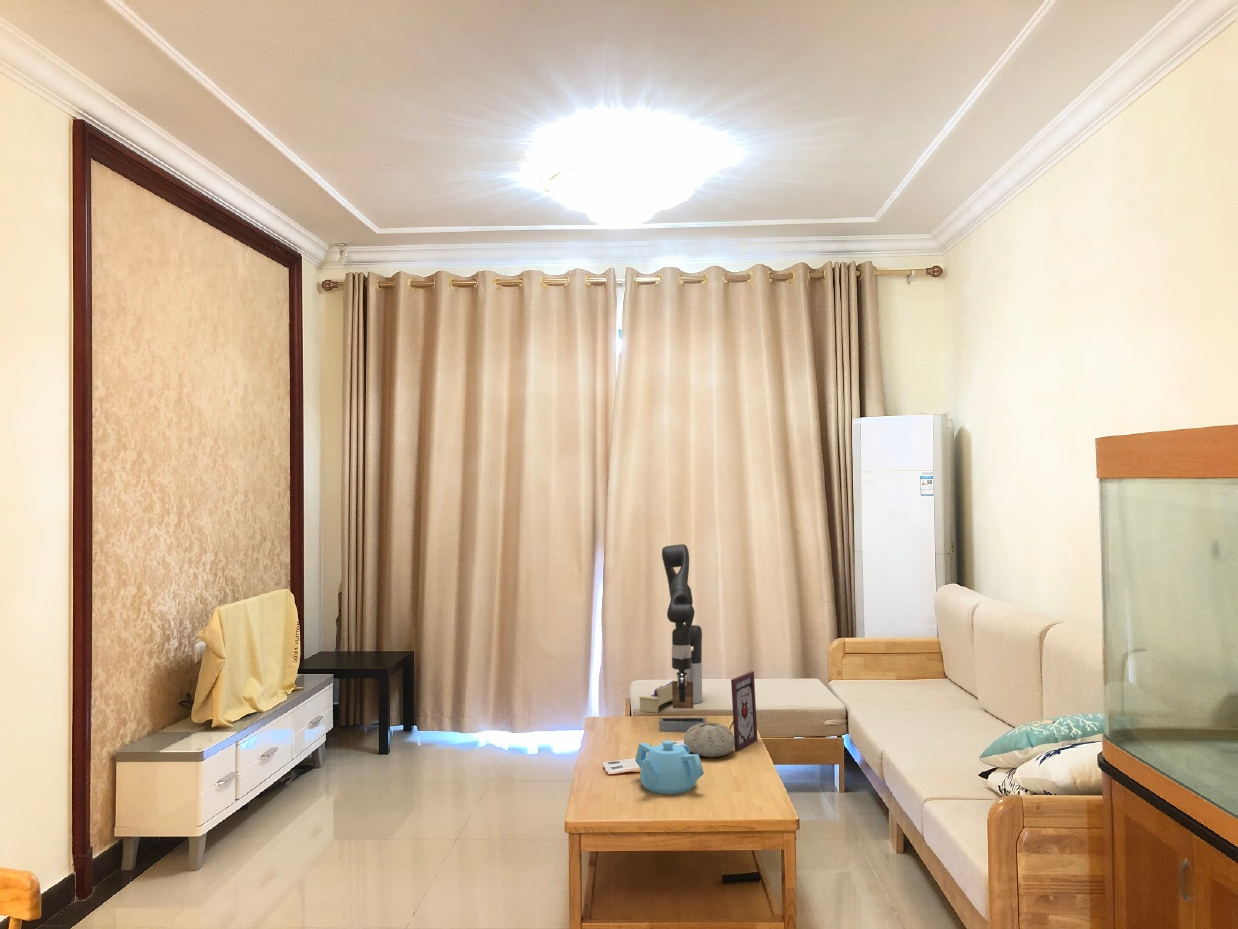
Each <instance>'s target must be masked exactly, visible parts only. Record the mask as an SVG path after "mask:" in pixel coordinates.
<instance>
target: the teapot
mask: <svg viewBox="0 0 1238 929" xmlns="http://www.w3.org/2000/svg"><path fill="white" fill-rule="evenodd" d="M634 761H635V763H636V764H637V765H638V767H639V768H640V772H639V781H640V783H641V784H642V786H643V787H644V788H645V790H648V791H649V792H652V793H654V794H659V795H679V794H683V793H687V792H689V791H690V790H692V789H693V787H694V786H695V784H696V783H697V782H698V780H699V779H700V778H701V777H703V775H705V772H704V769H703V765H702V762H701V759H700V755H699V754H695V753H692V754H691V752H690V749H689V747H688V746H687V745H685V744H684V743H680V744H675V742H674V741H673V740H664V741H661V744H658V745H655V746H652V745H650V743H646V742H641V743H638V747H637V751H636V755H635V760H634Z"/></svg>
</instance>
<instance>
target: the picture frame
mask: <svg viewBox="0 0 1238 929" xmlns="http://www.w3.org/2000/svg"><path fill="white" fill-rule="evenodd" d="M730 682H731V683H730V684H731V687H730V688H731V700H732V701H731V702H732V704H731V705H732V718H733V719H732V722H731V724H730V725H729V727H728V728H729V729H730V730H731V729H732V728H733V735H734V740H735V745H734V752H737V753H738V752H740V751H741V750H743V749H745V748H746V747H748V746H750V745H752V744H753V743H755V742H757V741H758V725H757V724H758V723H757V705H756V689H755V688H756V687H755V686H756V685H755V672H754V671H753V670H752V671H748V672H746V673H744V674H742V675H739V676H736V677H734V678H732V679H730Z"/></svg>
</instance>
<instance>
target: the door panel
mask: <svg viewBox="0 0 1238 929" xmlns="http://www.w3.org/2000/svg"><path fill="white" fill-rule="evenodd" d="M671 682H672V700H673V703H672V709H675V710H676V709H682V710H686V709H687V710H690V709H692V710H693V709H694V704H693V681H686V686H685V689H686V691H685V702H680V701H679V686H678V681H677V680H672V681H671ZM680 688H684V687H680Z"/></svg>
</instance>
